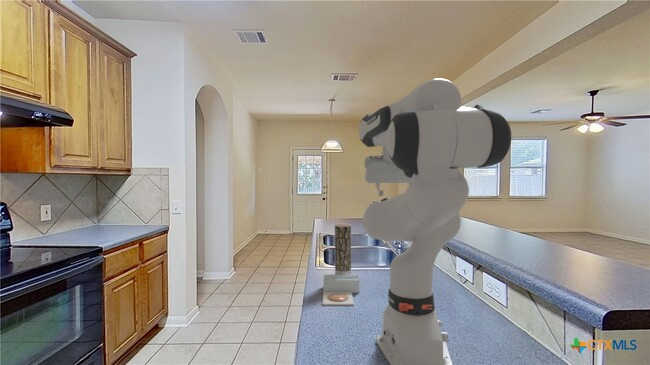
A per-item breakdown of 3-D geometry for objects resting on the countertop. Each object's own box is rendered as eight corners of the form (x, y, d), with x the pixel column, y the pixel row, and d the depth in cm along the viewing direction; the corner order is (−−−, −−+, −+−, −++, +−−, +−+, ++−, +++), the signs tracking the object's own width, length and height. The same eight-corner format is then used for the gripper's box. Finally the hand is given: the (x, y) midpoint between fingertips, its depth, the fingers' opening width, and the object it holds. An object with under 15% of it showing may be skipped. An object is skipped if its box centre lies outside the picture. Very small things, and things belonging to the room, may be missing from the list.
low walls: (359, 292, 124) (359, 280, 124) (323, 292, 125) (323, 279, 125) (358, 286, 131) (358, 274, 131) (324, 286, 131) (324, 274, 131)
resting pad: (353, 305, 112) (353, 303, 112) (322, 305, 113) (322, 303, 113) (351, 293, 123) (351, 292, 123) (323, 293, 124) (323, 291, 124)
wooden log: (345, 286, 132) (345, 226, 131) (332, 283, 136) (331, 224, 135) (354, 281, 137) (354, 224, 136) (341, 278, 141) (340, 222, 140)
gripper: (365, 155, 105) (365, 197, 107) (428, 155, 104) (426, 197, 106) (363, 155, 111) (363, 194, 113) (422, 154, 111) (421, 194, 112)
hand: (394, 195), depth 110 cm, fingers open, 8 cm apart
